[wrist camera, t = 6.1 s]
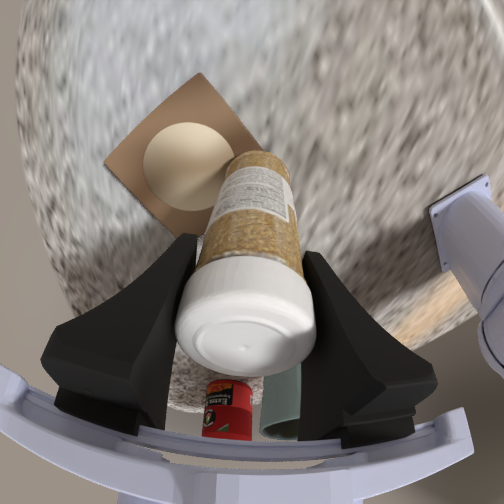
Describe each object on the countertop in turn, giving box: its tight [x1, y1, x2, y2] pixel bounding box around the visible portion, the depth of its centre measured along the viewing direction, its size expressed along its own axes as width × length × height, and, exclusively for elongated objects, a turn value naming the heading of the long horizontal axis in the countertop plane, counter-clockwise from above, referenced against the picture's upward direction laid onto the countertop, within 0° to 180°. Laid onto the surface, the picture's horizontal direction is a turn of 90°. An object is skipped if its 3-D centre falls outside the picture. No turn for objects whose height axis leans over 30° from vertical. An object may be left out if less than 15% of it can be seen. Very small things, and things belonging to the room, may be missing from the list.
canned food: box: [202, 380, 252, 441], centre depth 38 cm, size 8×8×11 cm
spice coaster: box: [104, 73, 263, 238], centre depth 19 cm, size 10×10×1 cm
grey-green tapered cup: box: [259, 363, 301, 440], centre depth 28 cm, size 10×10×12 cm
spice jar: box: [174, 150, 316, 377], centre depth 14 cm, size 5×5×13 cm
